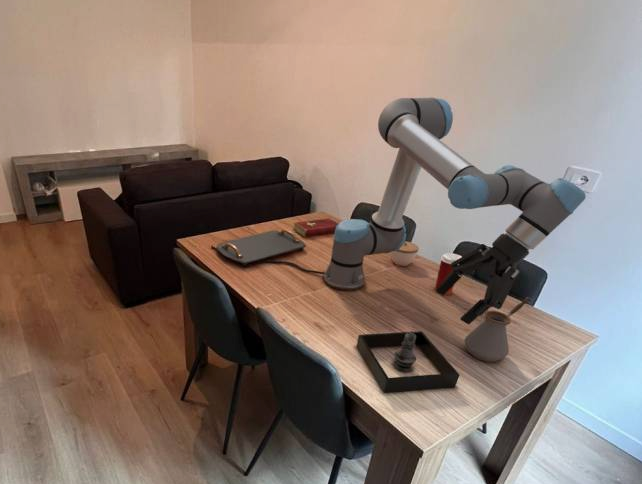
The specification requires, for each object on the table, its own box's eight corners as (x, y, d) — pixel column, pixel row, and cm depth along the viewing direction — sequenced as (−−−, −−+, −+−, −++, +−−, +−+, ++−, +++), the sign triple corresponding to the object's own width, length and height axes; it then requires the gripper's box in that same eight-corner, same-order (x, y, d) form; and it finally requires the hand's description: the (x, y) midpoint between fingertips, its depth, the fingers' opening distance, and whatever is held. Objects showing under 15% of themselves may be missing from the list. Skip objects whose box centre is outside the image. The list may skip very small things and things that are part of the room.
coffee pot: (490, 371, 112) (509, 325, 104) (453, 348, 120) (468, 305, 113) (531, 348, 122) (552, 305, 114) (495, 329, 130) (511, 288, 123)
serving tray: (278, 234, 197) (279, 221, 194) (311, 250, 181) (313, 237, 178) (210, 251, 178) (209, 237, 174) (239, 271, 162) (240, 256, 158)
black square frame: (383, 393, 103) (386, 380, 101) (356, 347, 120) (358, 334, 118) (454, 387, 106) (459, 374, 104) (418, 343, 123) (421, 330, 120)
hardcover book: (341, 233, 201) (343, 224, 199) (304, 238, 194) (305, 229, 192) (329, 225, 211) (330, 217, 209) (293, 229, 204) (293, 221, 202)
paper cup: (456, 297, 147) (467, 262, 140) (433, 294, 149) (444, 260, 142) (451, 287, 154) (462, 253, 147) (430, 285, 155) (439, 251, 148)
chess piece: (413, 362, 115) (423, 327, 108) (413, 375, 110) (424, 339, 104) (391, 357, 116) (400, 322, 110) (391, 370, 111) (400, 334, 105)
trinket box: (384, 257, 176) (388, 237, 172) (407, 257, 177) (412, 237, 172) (393, 268, 167) (398, 247, 162) (418, 268, 168) (424, 247, 163)
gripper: (563, 274, 87) (487, 341, 97) (497, 228, 108) (439, 287, 117) (542, 258, 85) (465, 329, 94) (478, 214, 106) (421, 276, 115)
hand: (451, 306), depth 106 cm, fingers open, 13 cm apart
